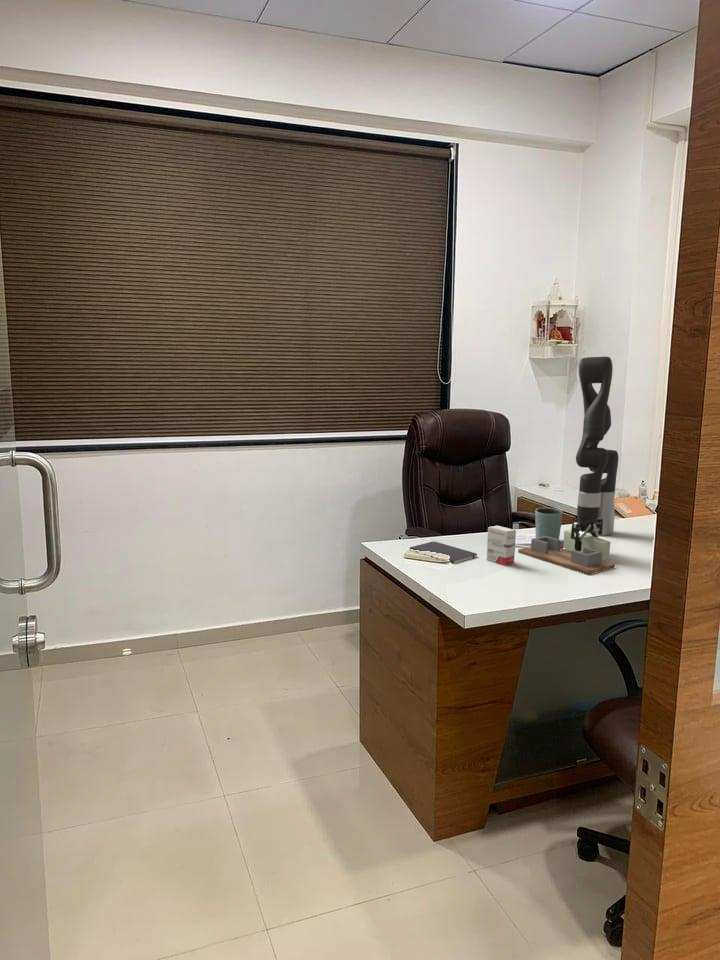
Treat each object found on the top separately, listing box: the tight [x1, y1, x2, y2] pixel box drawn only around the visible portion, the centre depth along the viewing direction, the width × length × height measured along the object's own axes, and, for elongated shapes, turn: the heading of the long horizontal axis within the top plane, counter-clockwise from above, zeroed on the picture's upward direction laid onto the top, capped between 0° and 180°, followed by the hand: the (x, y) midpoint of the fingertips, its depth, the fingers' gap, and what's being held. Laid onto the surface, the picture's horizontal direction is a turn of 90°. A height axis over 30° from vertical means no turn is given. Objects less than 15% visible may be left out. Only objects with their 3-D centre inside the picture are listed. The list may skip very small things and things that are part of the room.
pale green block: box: [562, 529, 611, 562], centre depth 247 cm, size 4×18×7 cm, turn 29°
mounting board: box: [517, 546, 616, 576], centre depth 242 cm, size 14×30×1 cm, turn 34°
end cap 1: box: [530, 536, 561, 554], centre depth 248 cm, size 7×7×4 cm
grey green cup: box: [534, 507, 564, 540], centre depth 263 cm, size 10×10×12 cm
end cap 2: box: [571, 547, 602, 567], centre depth 234 cm, size 7×7×4 cm
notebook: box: [409, 541, 478, 565], centre depth 249 cm, size 13×2×21 cm
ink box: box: [486, 525, 517, 566], centre depth 238 cm, size 8×5×12 cm, turn 39°
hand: (585, 548), depth 247 cm, fingers open, 8 cm apart
